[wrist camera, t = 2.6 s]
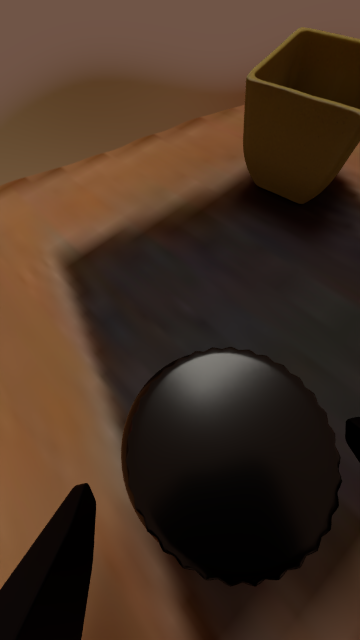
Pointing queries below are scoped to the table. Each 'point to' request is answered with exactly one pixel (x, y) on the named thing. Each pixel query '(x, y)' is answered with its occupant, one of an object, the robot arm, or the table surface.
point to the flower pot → (302, 113)
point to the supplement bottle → (231, 465)
